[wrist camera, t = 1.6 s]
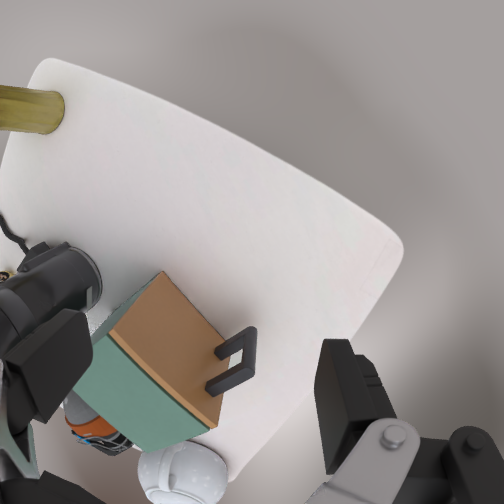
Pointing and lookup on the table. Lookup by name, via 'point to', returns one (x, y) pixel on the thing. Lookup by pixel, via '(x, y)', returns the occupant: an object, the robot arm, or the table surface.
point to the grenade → (93, 426)
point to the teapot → (183, 475)
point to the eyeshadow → (5, 276)
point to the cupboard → (133, 393)
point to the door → (184, 349)
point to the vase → (30, 110)
